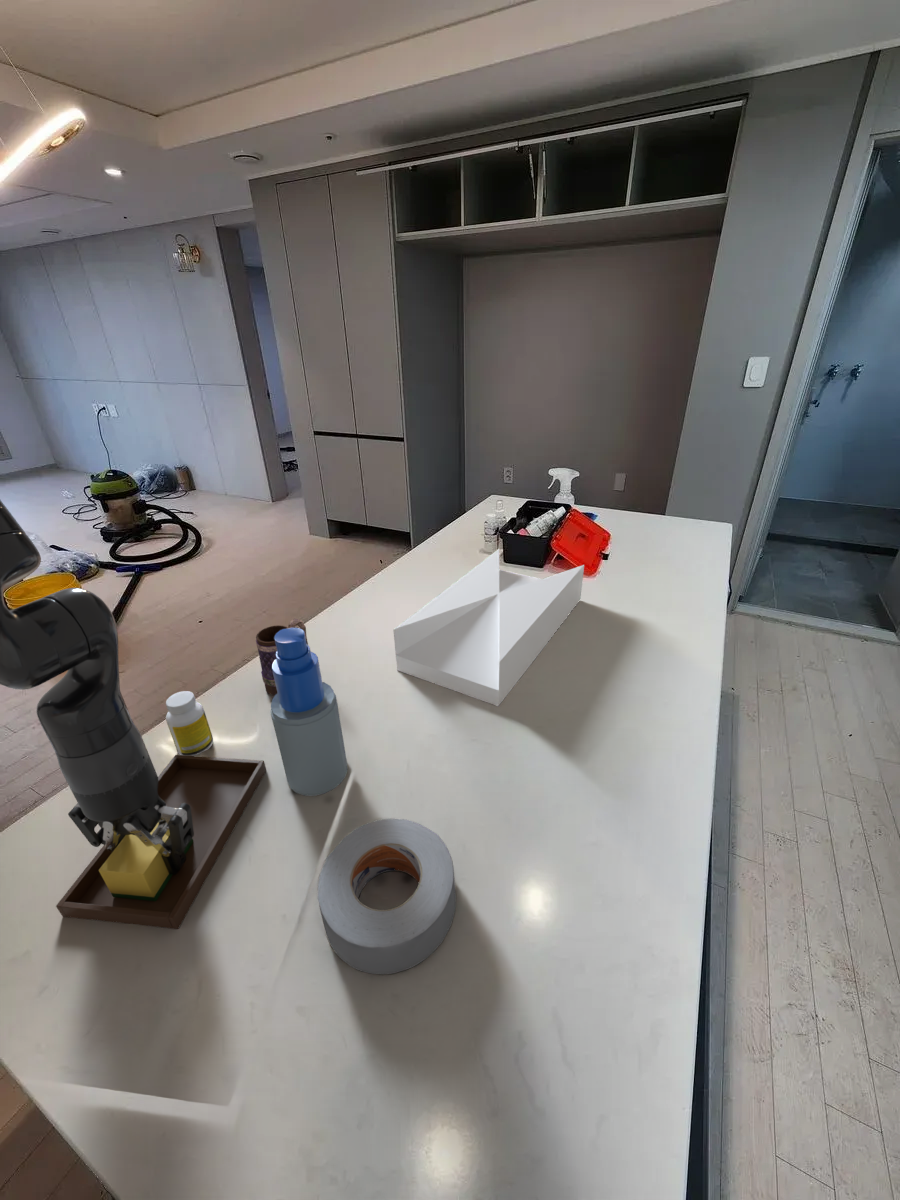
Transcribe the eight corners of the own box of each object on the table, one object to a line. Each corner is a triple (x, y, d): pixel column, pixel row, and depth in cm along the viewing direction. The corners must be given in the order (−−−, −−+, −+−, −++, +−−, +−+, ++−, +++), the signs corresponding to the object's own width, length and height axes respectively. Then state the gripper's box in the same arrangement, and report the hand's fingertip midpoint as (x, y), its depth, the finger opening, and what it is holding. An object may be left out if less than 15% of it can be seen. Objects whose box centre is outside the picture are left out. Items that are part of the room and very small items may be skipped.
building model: (498, 706, 90) (499, 661, 85) (397, 670, 100) (393, 628, 95) (580, 600, 123) (584, 564, 119) (498, 581, 134) (499, 547, 129)
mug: (280, 702, 92) (267, 647, 86) (257, 688, 96) (243, 634, 90) (324, 675, 99) (315, 622, 93) (301, 662, 103) (291, 611, 97)
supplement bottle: (221, 742, 83) (206, 694, 79) (191, 763, 79) (173, 715, 75) (200, 730, 86) (185, 684, 81) (170, 750, 82) (152, 703, 77)
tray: (64, 919, 58) (55, 906, 57) (180, 767, 79) (175, 754, 78) (179, 932, 57) (173, 918, 56) (267, 773, 77) (264, 760, 76)
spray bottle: (274, 783, 75) (237, 641, 64) (317, 745, 82) (290, 610, 70) (319, 808, 71) (288, 661, 60) (360, 766, 78) (339, 626, 66)
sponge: (112, 897, 60) (98, 870, 58) (154, 838, 67) (143, 811, 65) (156, 901, 59) (143, 874, 57) (193, 841, 66) (183, 815, 64)
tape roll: (298, 902, 60) (290, 875, 57) (398, 822, 69) (396, 796, 67) (378, 1011, 50) (373, 984, 47) (482, 901, 59) (483, 874, 57)
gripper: (189, 744, 58) (224, 843, 66) (75, 737, 59) (122, 834, 67) (147, 797, 51) (191, 900, 59) (20, 787, 53) (79, 889, 61)
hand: (154, 865), depth 63 cm, fingers closed on sponge, 5 cm apart
